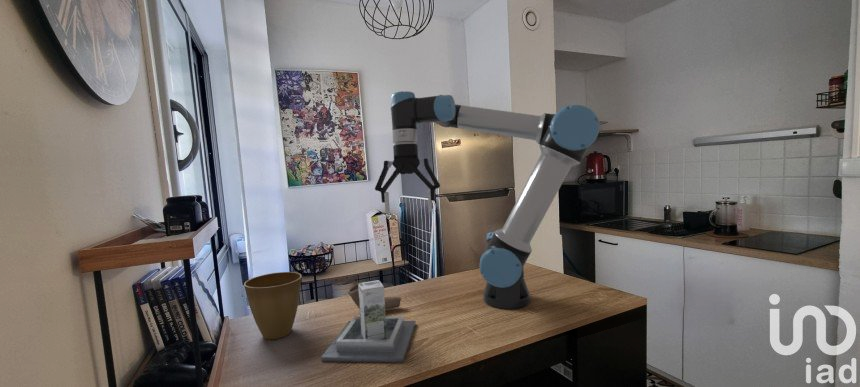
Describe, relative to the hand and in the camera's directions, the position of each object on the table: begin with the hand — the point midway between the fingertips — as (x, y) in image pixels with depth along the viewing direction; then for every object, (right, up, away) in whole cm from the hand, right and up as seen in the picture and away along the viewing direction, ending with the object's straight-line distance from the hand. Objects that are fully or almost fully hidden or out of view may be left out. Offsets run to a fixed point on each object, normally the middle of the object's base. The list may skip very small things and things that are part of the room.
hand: (408, 212), depth 110 cm
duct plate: (-9, -33, -17) cm, 38 cm away
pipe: (-11, -32, +3) cm, 34 cm away
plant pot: (-37, -34, -9) cm, 51 cm away
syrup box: (-8, -33, -16) cm, 37 cm away
